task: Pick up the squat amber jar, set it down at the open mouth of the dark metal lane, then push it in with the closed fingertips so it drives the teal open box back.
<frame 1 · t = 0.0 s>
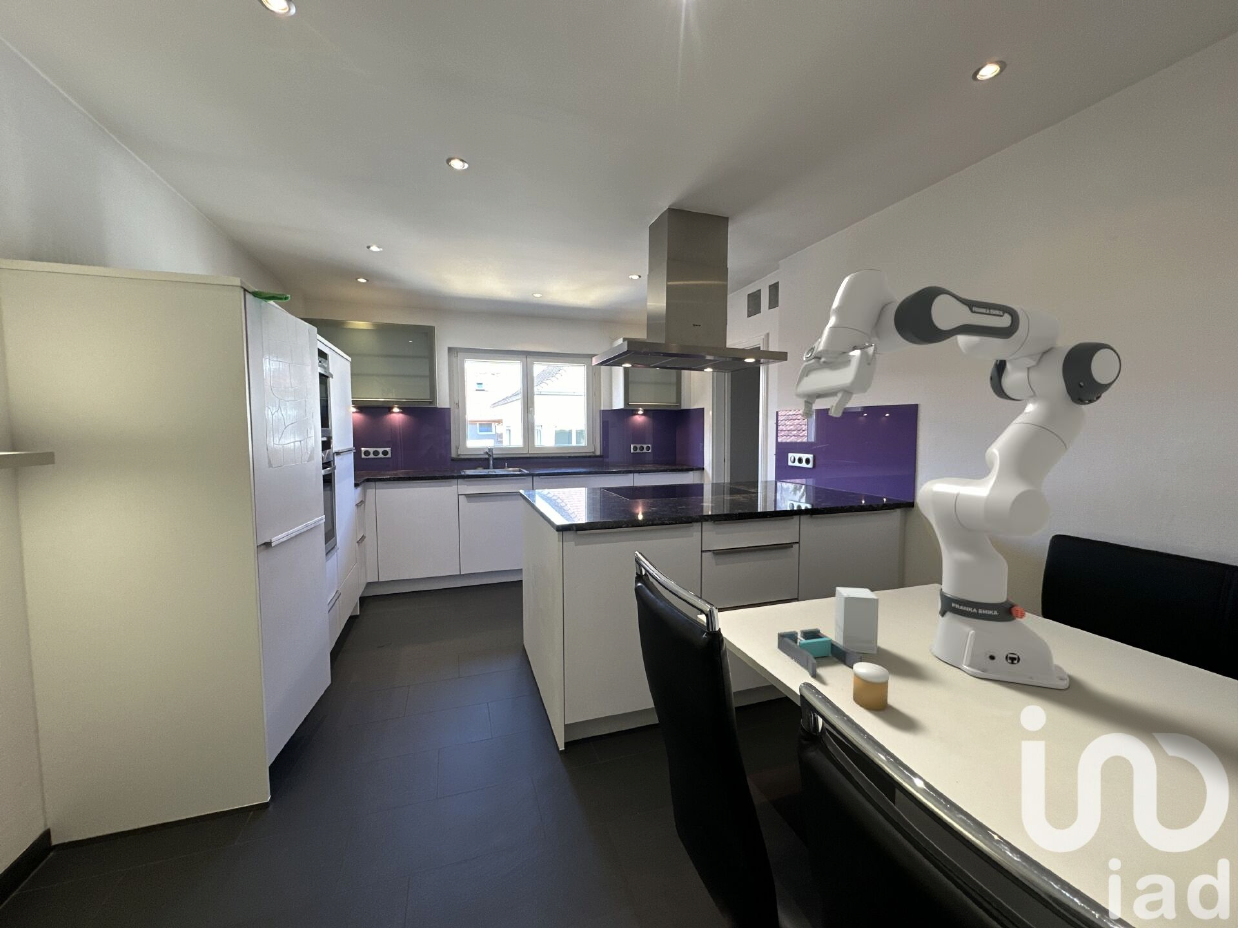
hand: (819, 417, 92), 52 cm above the table, tool tilted 20°, fingers open, 8 cm apart
lane: (828, 667, 97), on the table
amber jar: (869, 701, 84), on the table
teal open box: (805, 641, 104), point 2 cm above the table, slide at 0.0 cm
supplement box: (854, 646, 107), on the table
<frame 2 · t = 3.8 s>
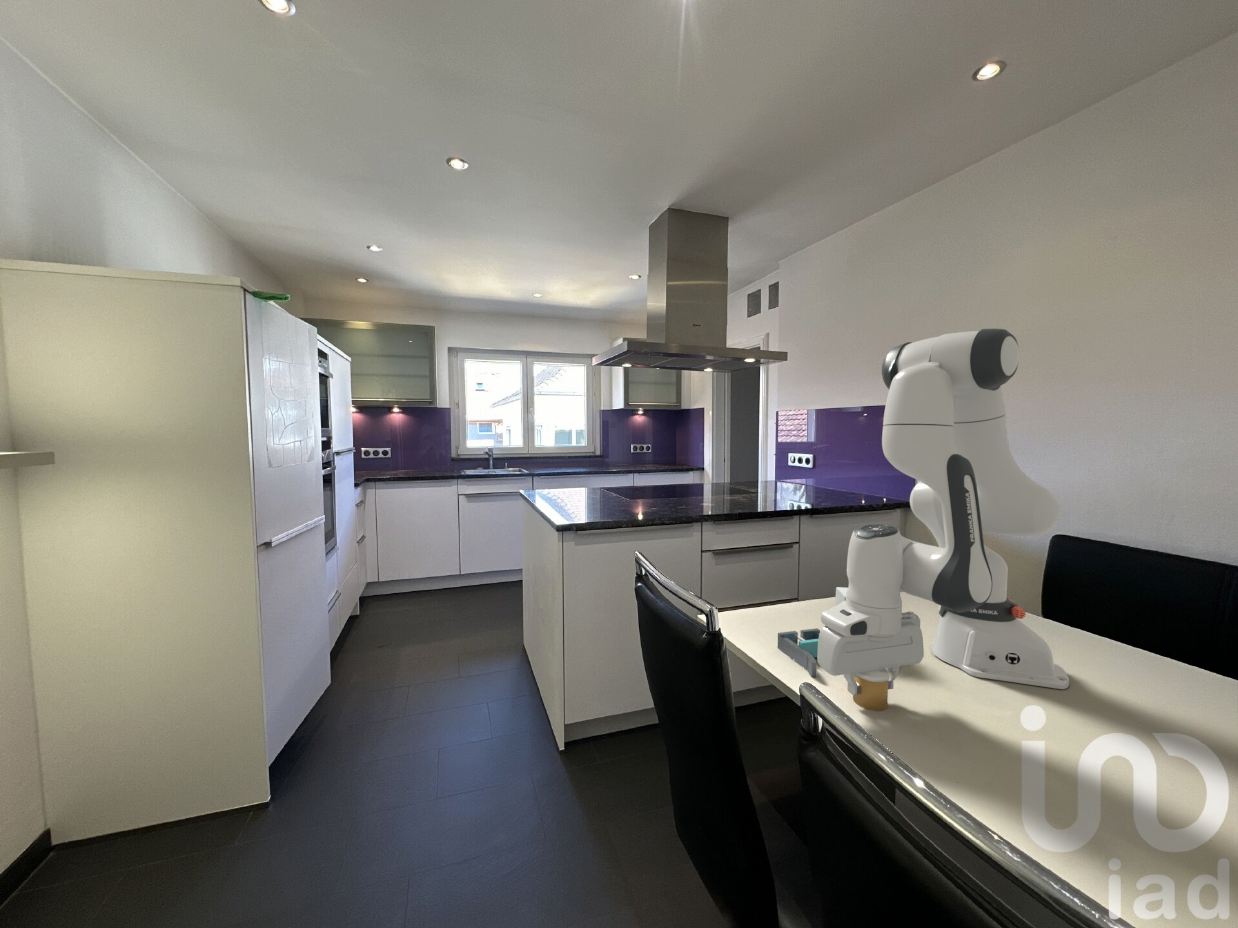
hand: (870, 690, 84), 2 cm above the table, tool pointing down, fingers closed on amber jar, 5 cm apart
amber jar: (869, 701, 84), on the table, touching gripper
everything else where it was.
when the fingers open (3 cm above the table, at t = 8.7 s): amber jar stays where it is, on the table.
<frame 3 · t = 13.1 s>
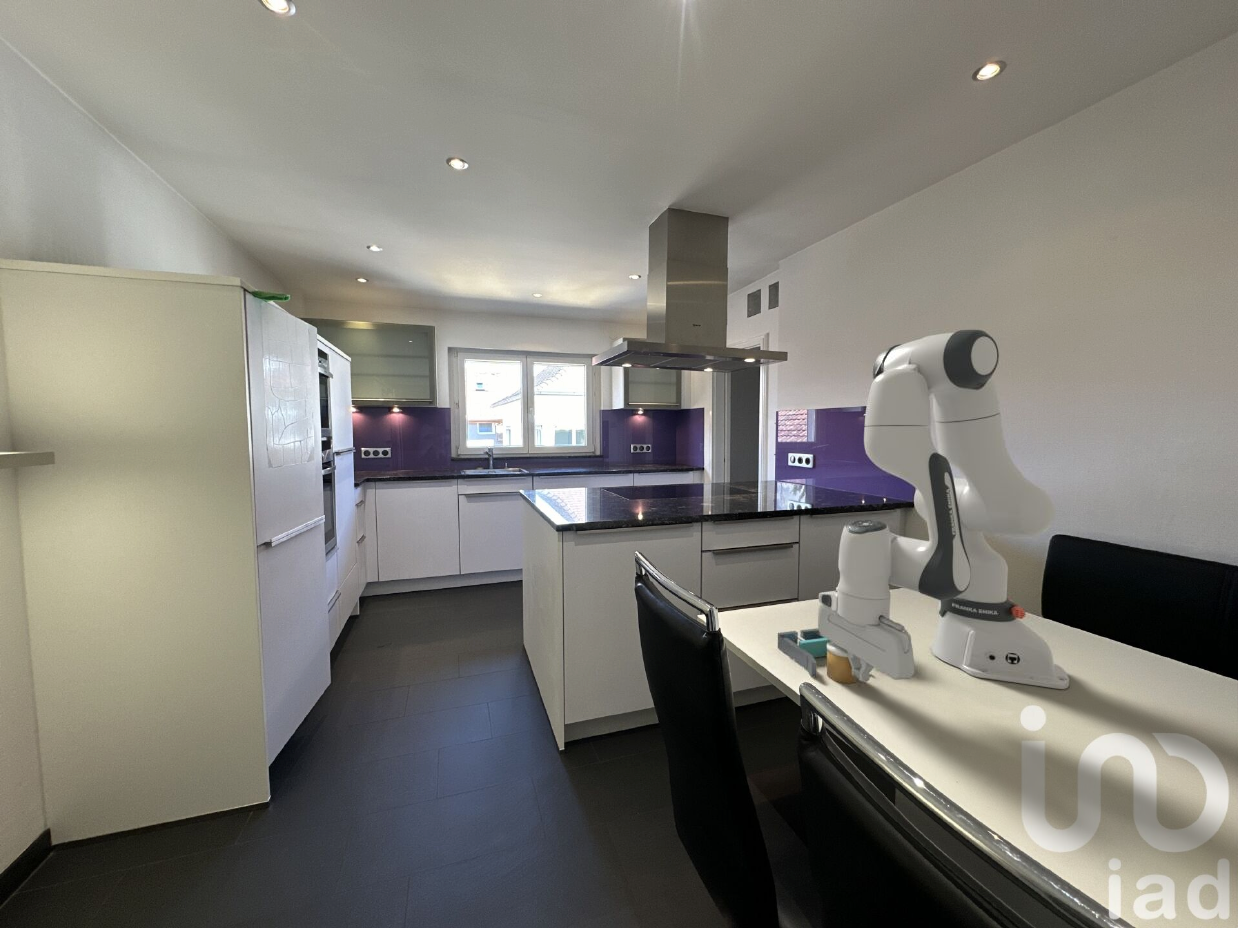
hand: (860, 678, 88), 2 cm above the table, tool pointing down, fingers closed
amber jar: (841, 676, 93), on the table, touching gripper
everything else where it was.
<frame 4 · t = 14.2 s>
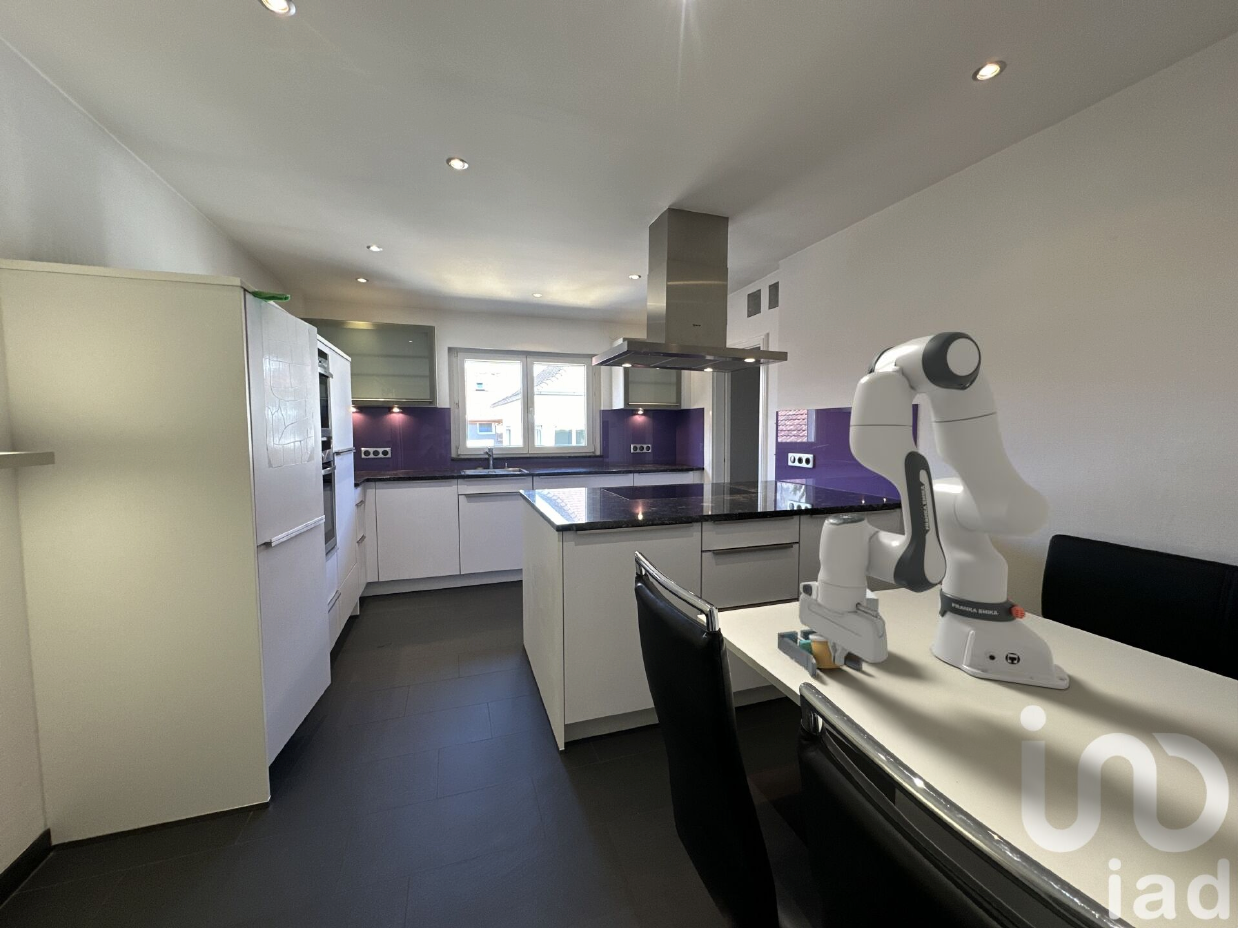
hand: (837, 663, 93), 3 cm above the table, tool pointing down, fingers closed, pressing on amber jar
amber jar: (829, 665, 96), point 1 cm above the table, tilted 18°, touching gripper
everything else where it was.
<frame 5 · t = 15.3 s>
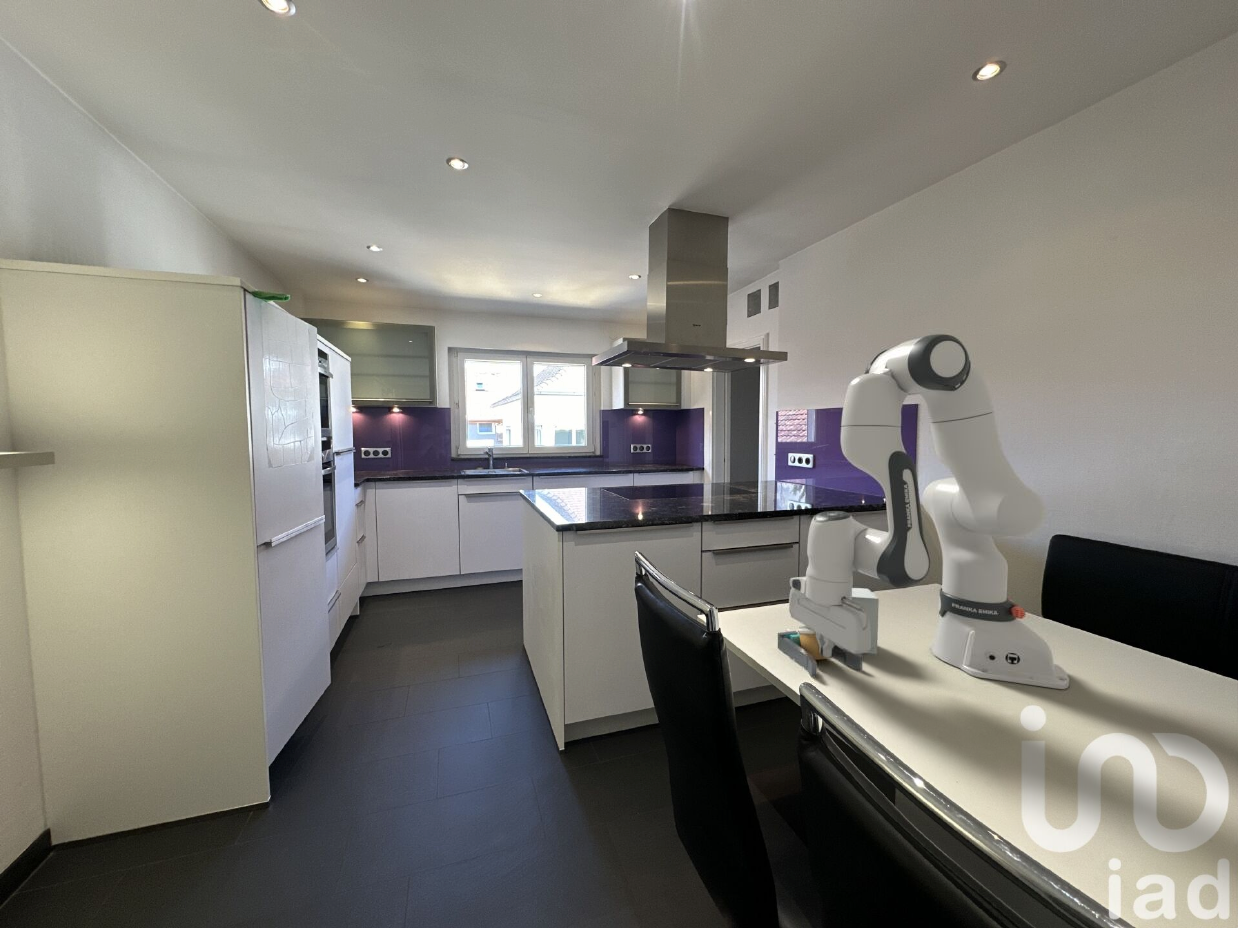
hand: (825, 655, 97), 3 cm above the table, tool pointing down, fingers closed
amber jar: (816, 656, 100), point 1 cm above the table, tilted 17°, touching gripper, teal open box
teal open box: (796, 635, 107), point 2 cm above the table, slide at 3.1 cm, touching amber jar
everything else where it was.
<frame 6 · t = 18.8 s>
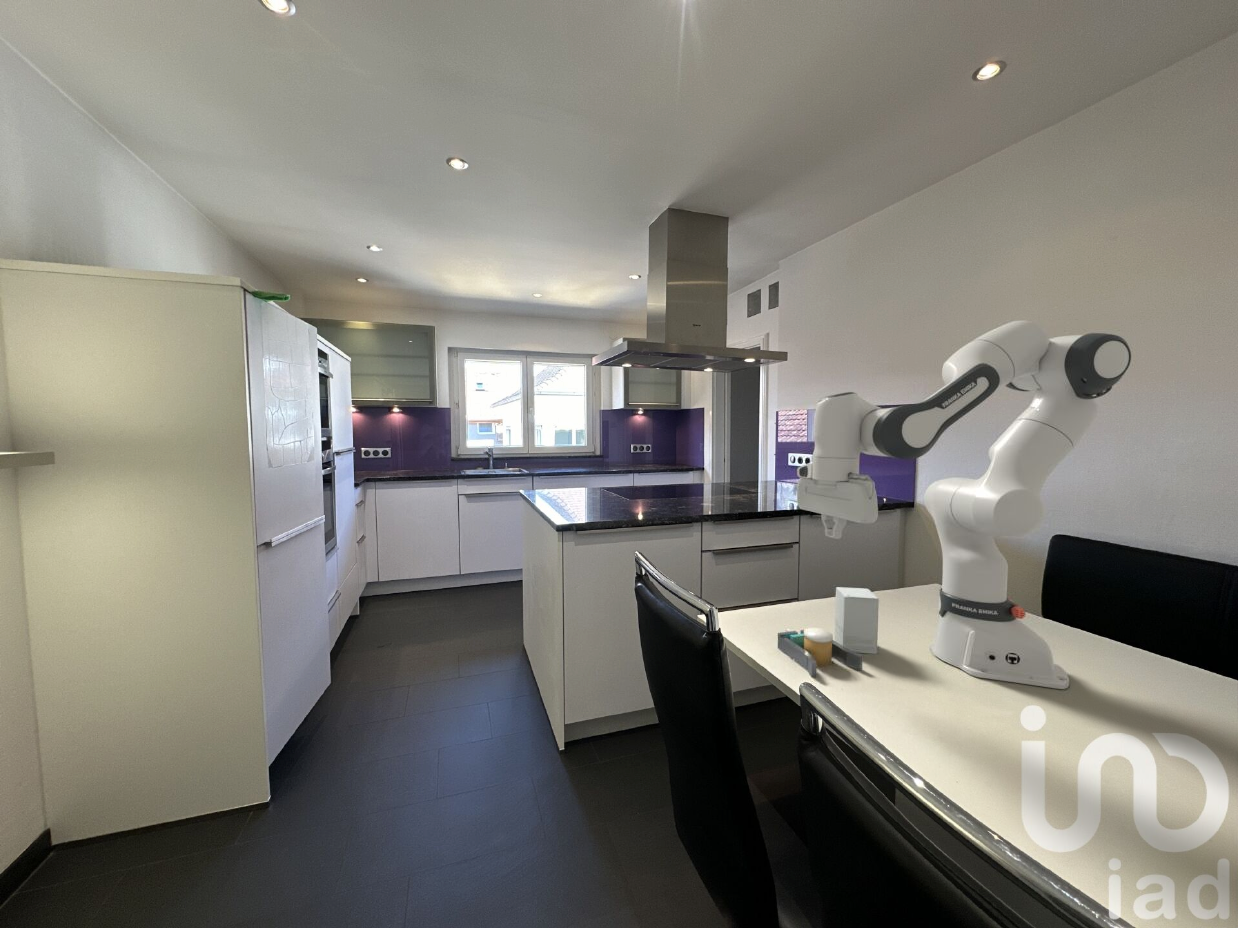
hand: (833, 537, 97), 27 cm above the table, tool pointing down, fingers closed
amber jar: (817, 660, 100), resting in lane
teal open box: (796, 635, 107), point 2 cm above the table, slide at 3.1 cm
everything else where it was.
at the end: teal open box slide at 3.1 cm; amber jar 1.4 cm from the target spot, resting in lane; amber jar tilted 0° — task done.
